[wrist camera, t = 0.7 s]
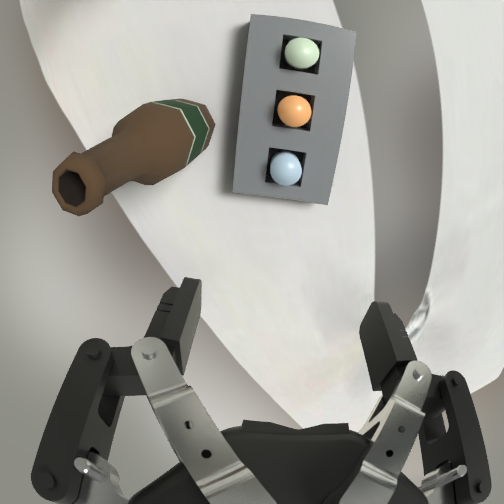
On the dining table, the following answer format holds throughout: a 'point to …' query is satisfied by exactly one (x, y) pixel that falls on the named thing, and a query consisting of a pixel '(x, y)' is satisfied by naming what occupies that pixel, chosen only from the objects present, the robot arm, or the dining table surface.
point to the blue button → (285, 168)
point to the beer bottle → (134, 153)
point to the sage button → (301, 53)
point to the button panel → (317, 85)
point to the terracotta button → (294, 111)
